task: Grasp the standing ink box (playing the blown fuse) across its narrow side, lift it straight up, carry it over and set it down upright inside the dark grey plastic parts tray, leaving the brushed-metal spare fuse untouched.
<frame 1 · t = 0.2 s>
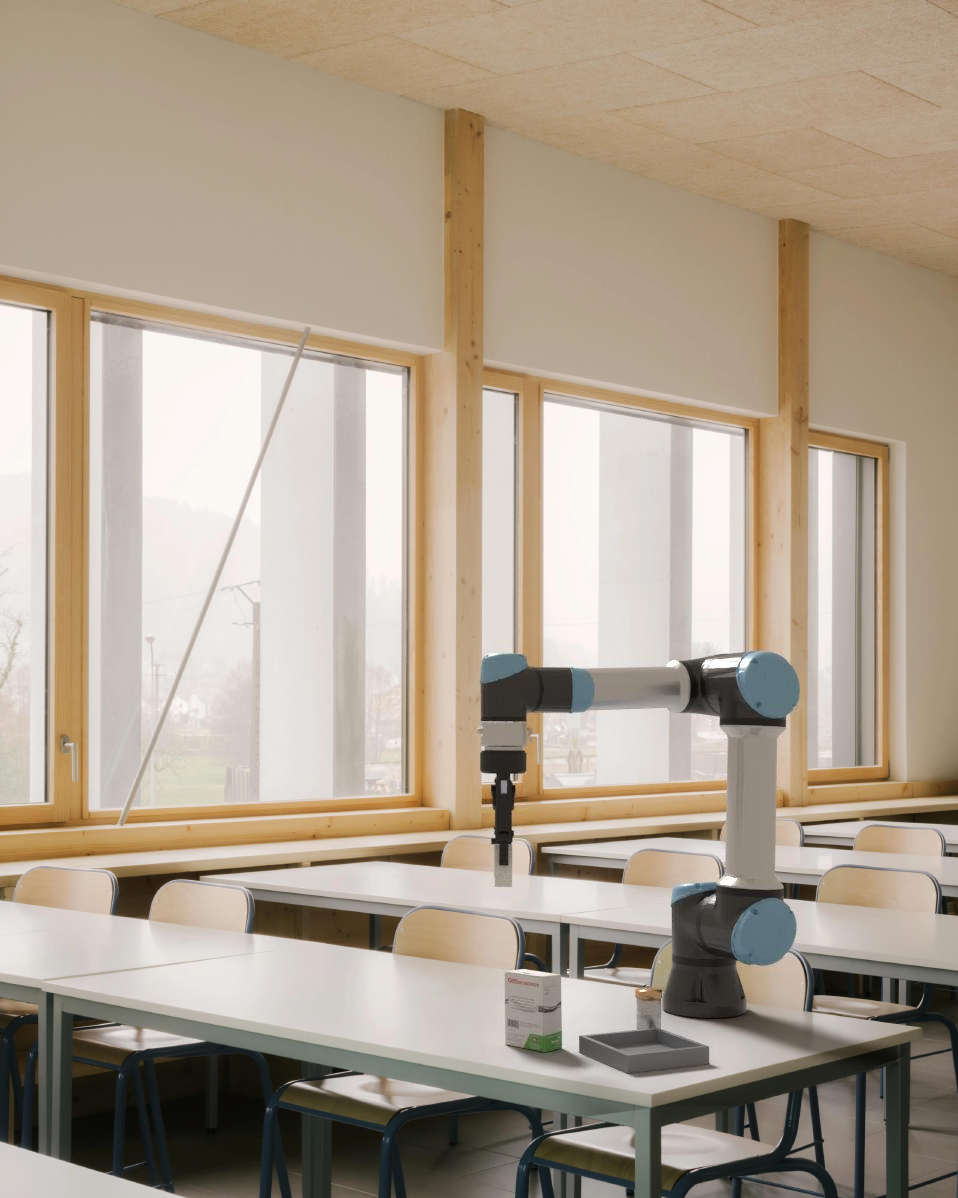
hand: (502, 882, 226), 26 cm above the table, fingers open, 13 cm apart
ink box: (533, 1048, 226), on the table
parts tray: (643, 1058, 219), on the table
spare fuse: (648, 1039, 232), on the table
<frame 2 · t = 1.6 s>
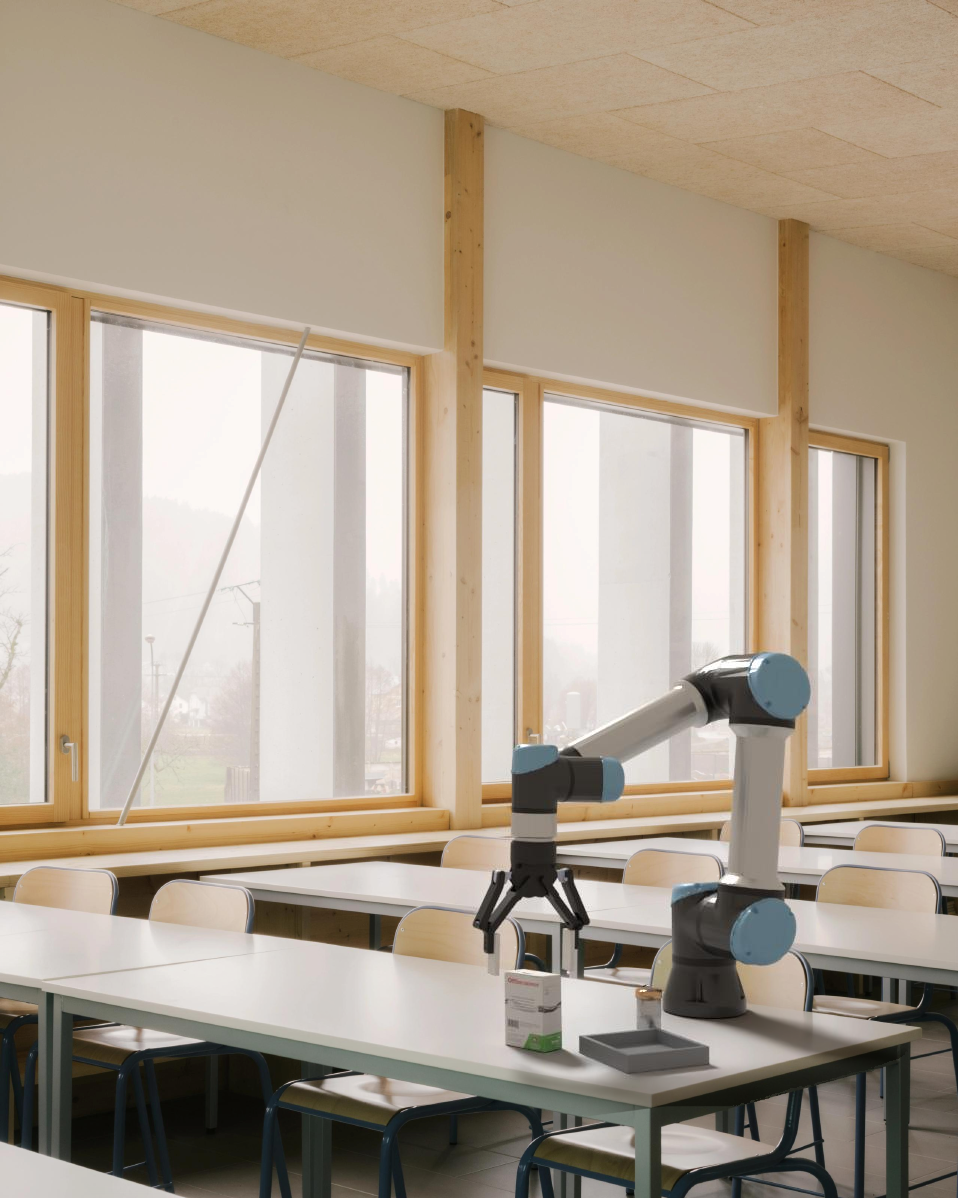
hand: (531, 972, 227), 12 cm above the table, fingers open, 13 cm apart
nothing on the table moved.
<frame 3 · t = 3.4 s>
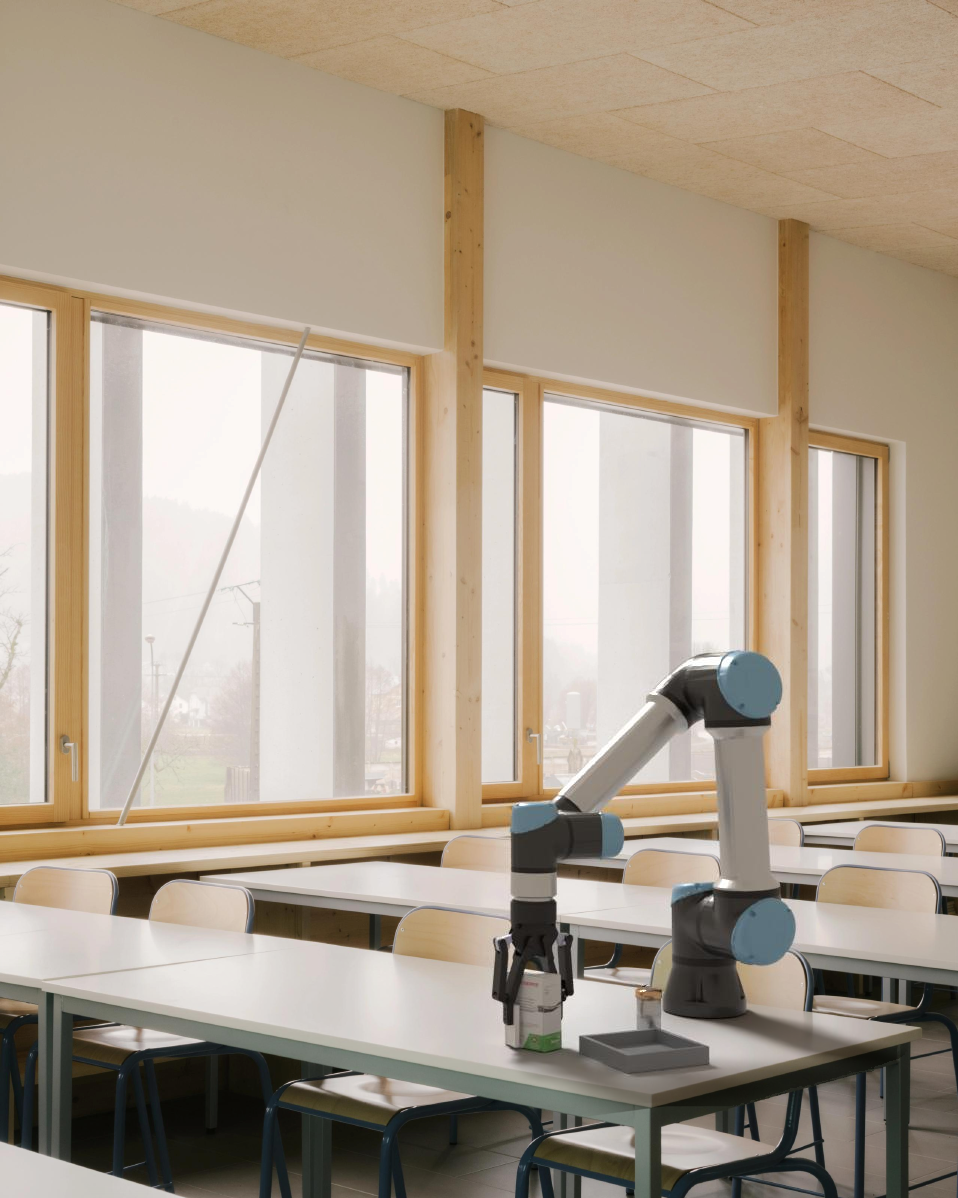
hand: (533, 1043, 227), 0 cm above the table, fingers closed on ink box, 6 cm apart
ink box: (532, 1048, 226), on the table, touching gripper
everything else where it was.
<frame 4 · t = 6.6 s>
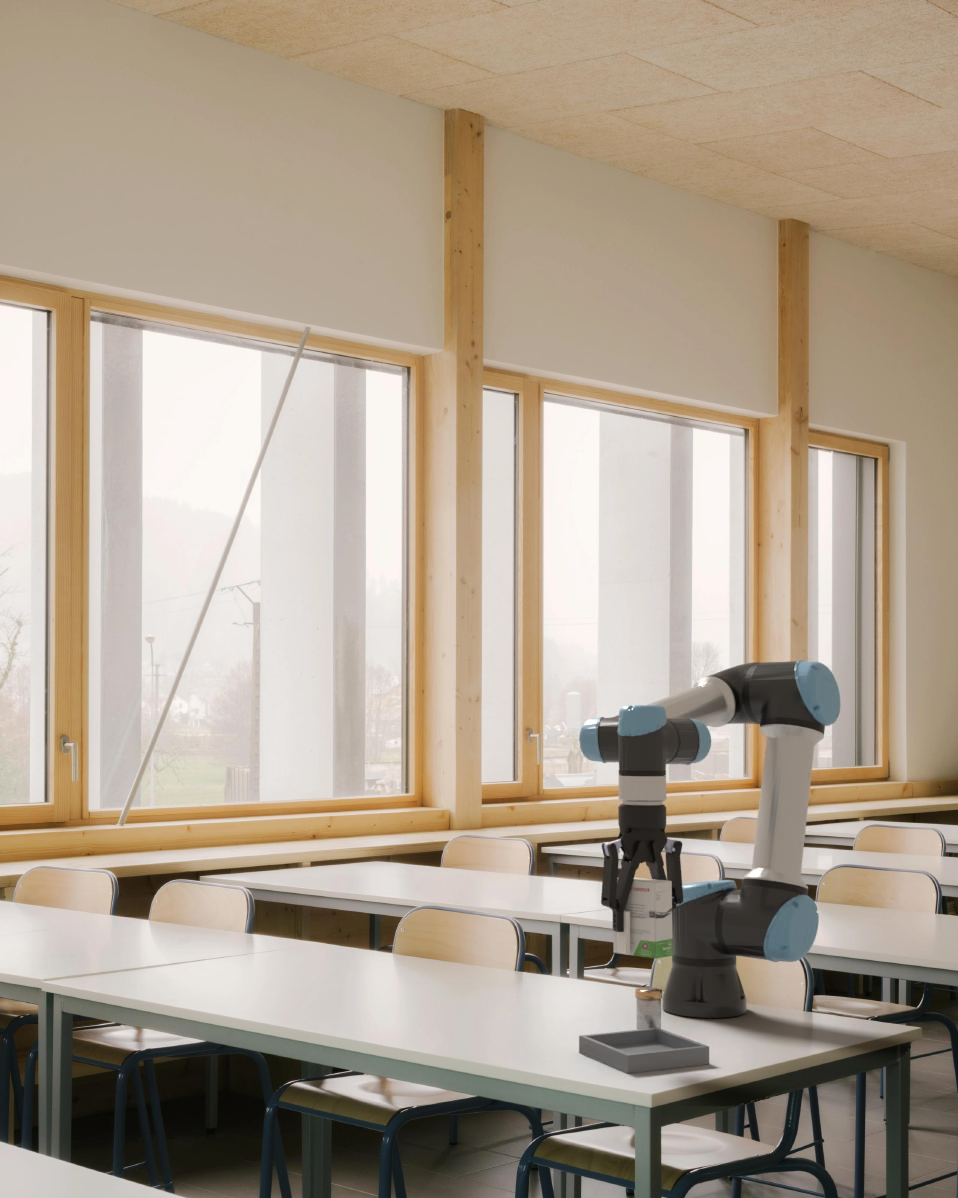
hand: (642, 951, 220), 16 cm above the table, fingers closed on ink box, 6 cm apart
ink box: (642, 956, 220), point 16 cm above the table, touching gripper
everything else where it was.
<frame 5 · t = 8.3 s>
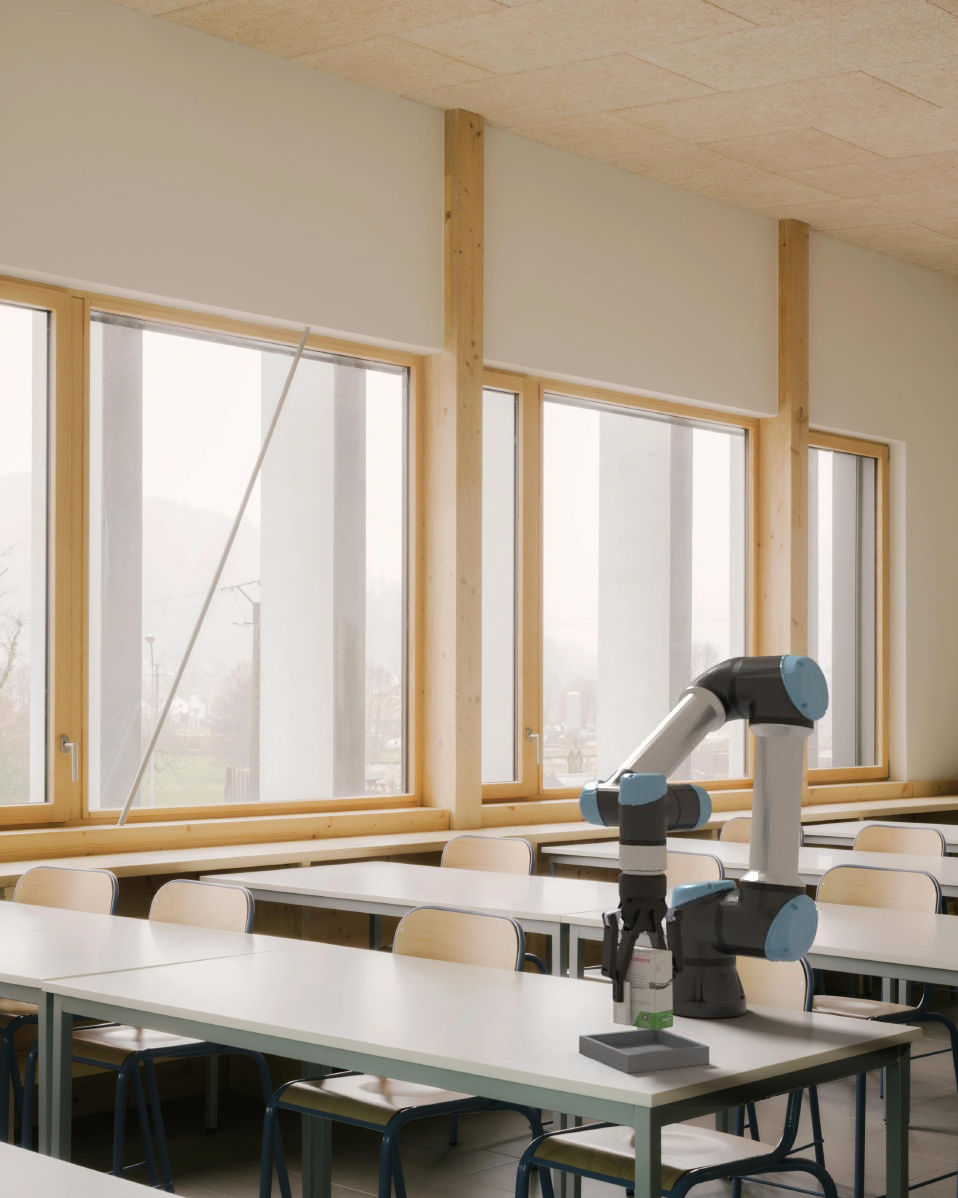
hand: (642, 1021, 219), 6 cm above the table, fingers closed on ink box, 6 cm apart
ink box: (642, 1026, 219), point 5 cm above the table, touching gripper
everything else where it was.
when the fingers open (2 cm above the table, at t = 9.7 s): ink box drops 1 cm, resting on parts tray.
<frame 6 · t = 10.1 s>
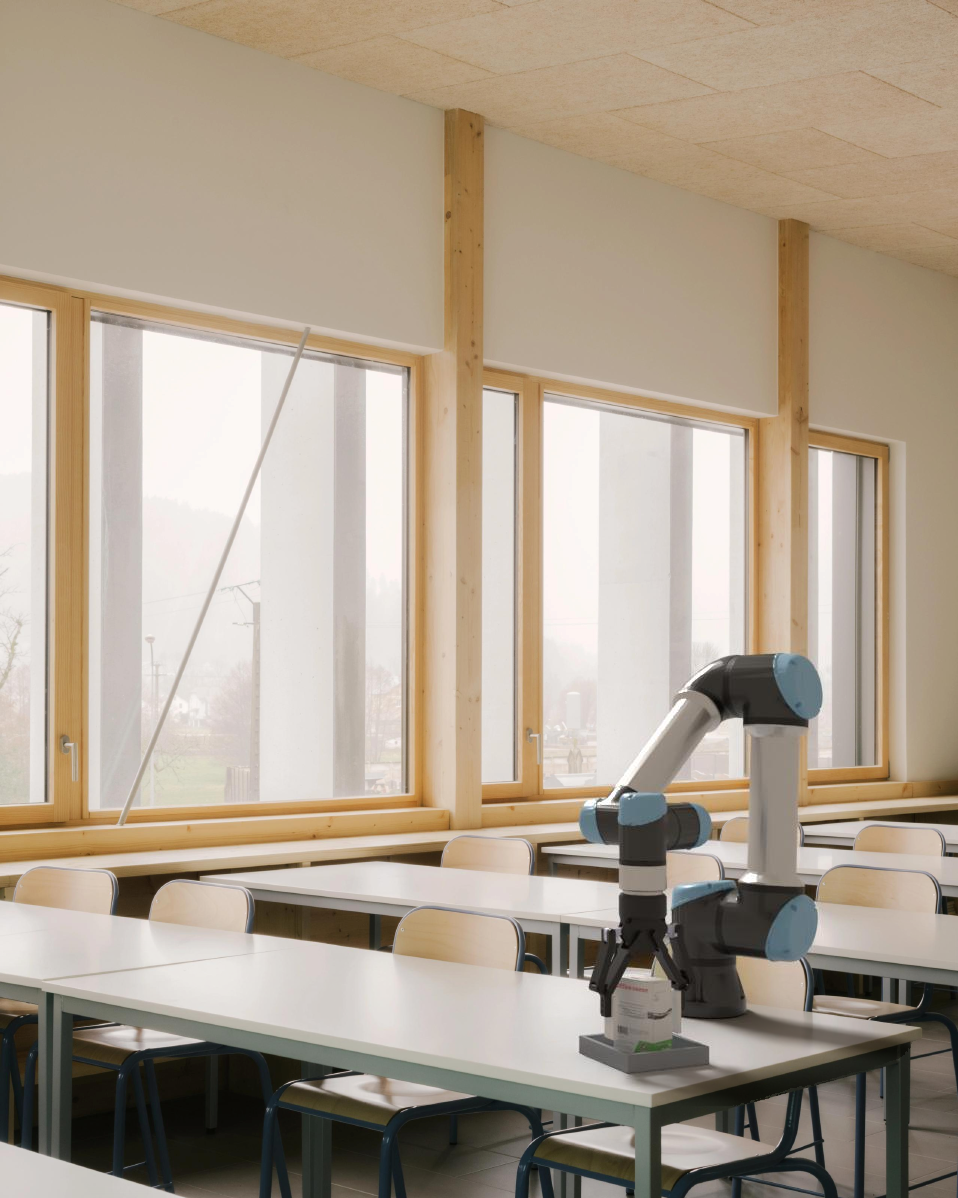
hand: (643, 1035, 219), 3 cm above the table, fingers open, 11 cm apart
ink box: (642, 1055, 219), resting on parts tray
everything else where it was.
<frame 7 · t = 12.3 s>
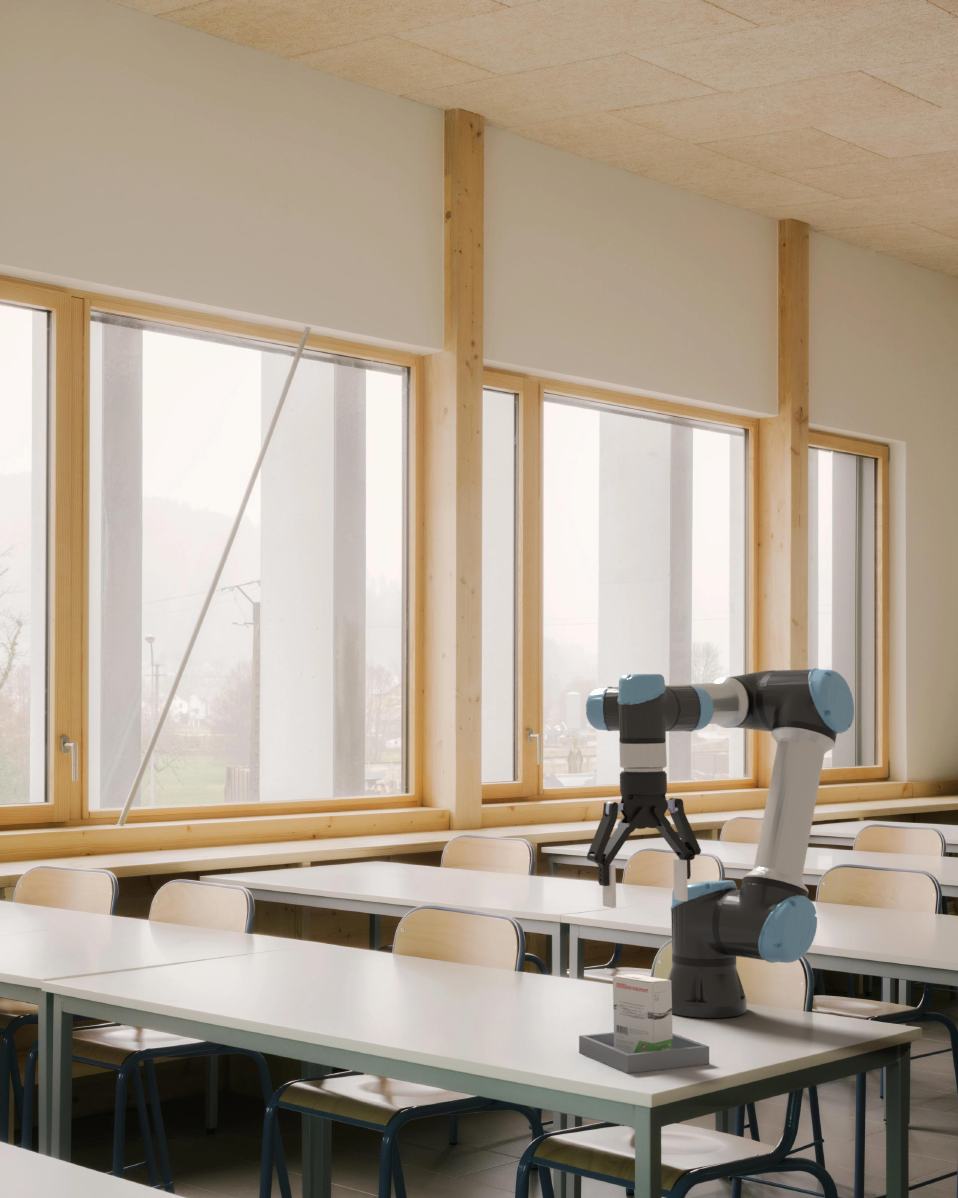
hand: (645, 903, 225), 23 cm above the table, fingers open, 13 cm apart
nothing on the table moved.
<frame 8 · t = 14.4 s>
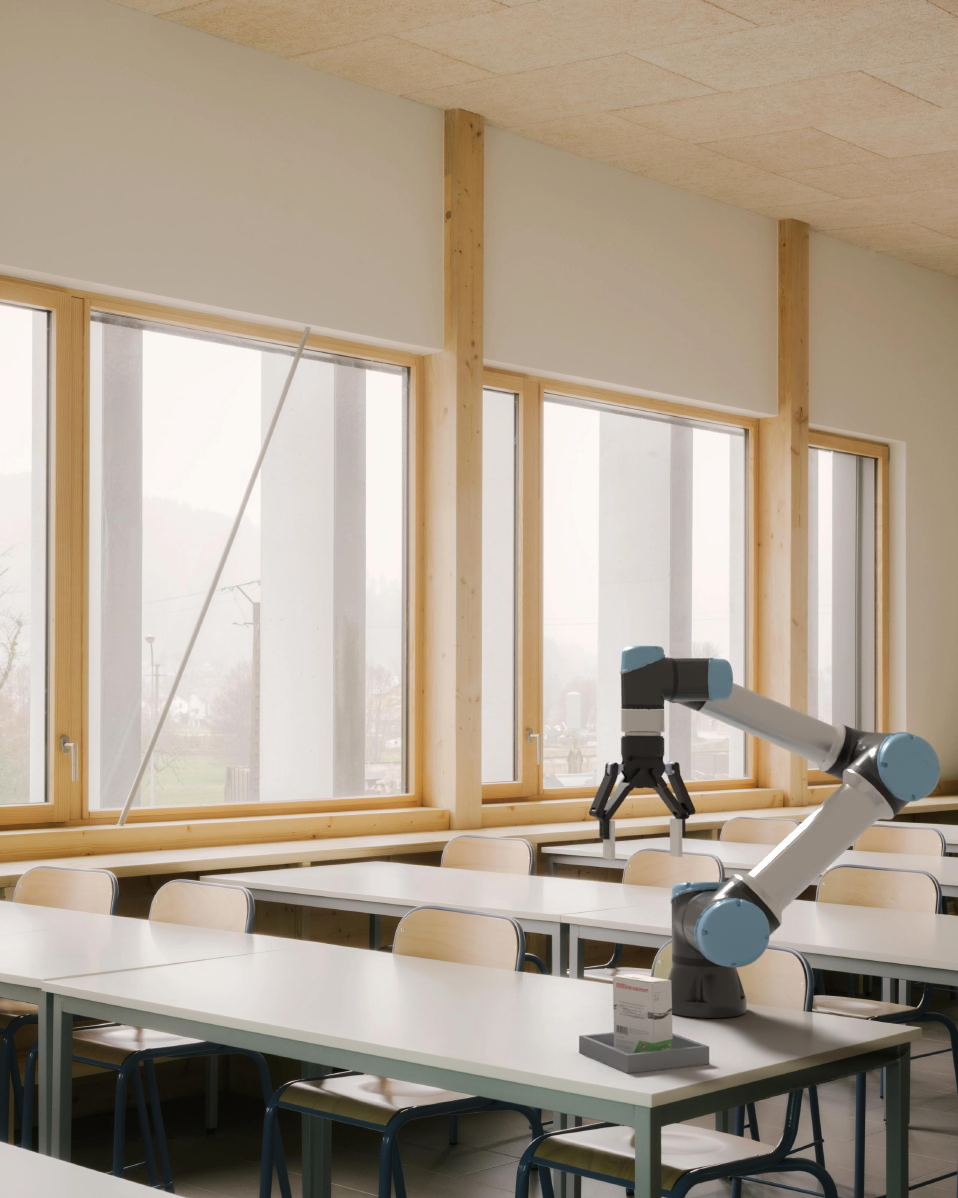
hand: (643, 858, 244), 29 cm above the table, fingers open, 13 cm apart
nothing on the table moved.
at the end: ink box inside the target area on the parts tray (0.1 cm from its centre), point 0.4 cm above the parts tray's base; ink box tilted 0°; the gripper is holding nothing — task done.
